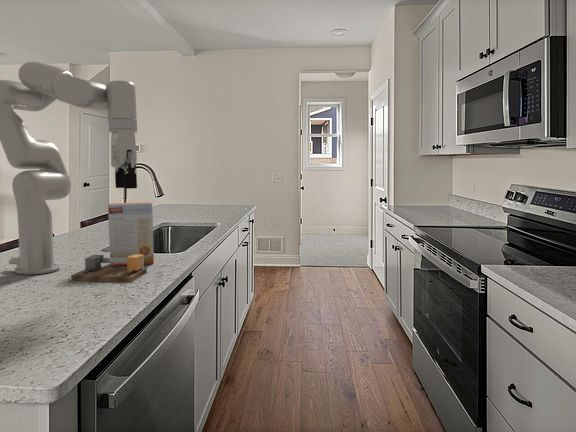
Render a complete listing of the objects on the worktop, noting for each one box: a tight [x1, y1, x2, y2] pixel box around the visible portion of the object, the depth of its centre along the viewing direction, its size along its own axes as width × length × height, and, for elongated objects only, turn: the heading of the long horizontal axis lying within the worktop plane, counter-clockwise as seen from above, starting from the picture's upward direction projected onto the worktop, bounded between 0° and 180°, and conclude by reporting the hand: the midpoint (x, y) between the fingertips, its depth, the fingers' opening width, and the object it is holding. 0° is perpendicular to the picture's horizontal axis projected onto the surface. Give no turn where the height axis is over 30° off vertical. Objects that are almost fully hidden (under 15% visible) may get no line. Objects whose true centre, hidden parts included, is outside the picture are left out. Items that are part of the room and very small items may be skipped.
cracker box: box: [107, 201, 155, 267], centre depth 163 cm, size 14×6×21 cm, turn 113°
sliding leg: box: [126, 254, 144, 273], centre depth 145 cm, size 3×10×4 cm, turn 176°
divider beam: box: [84, 254, 145, 274], centre depth 146 cm, size 17×9×4 cm, turn 86°
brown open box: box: [70, 266, 148, 283], centre depth 145 cm, size 18×12×2 cm, turn 86°
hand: (126, 188), depth 136 cm, fingers open, 9 cm apart
